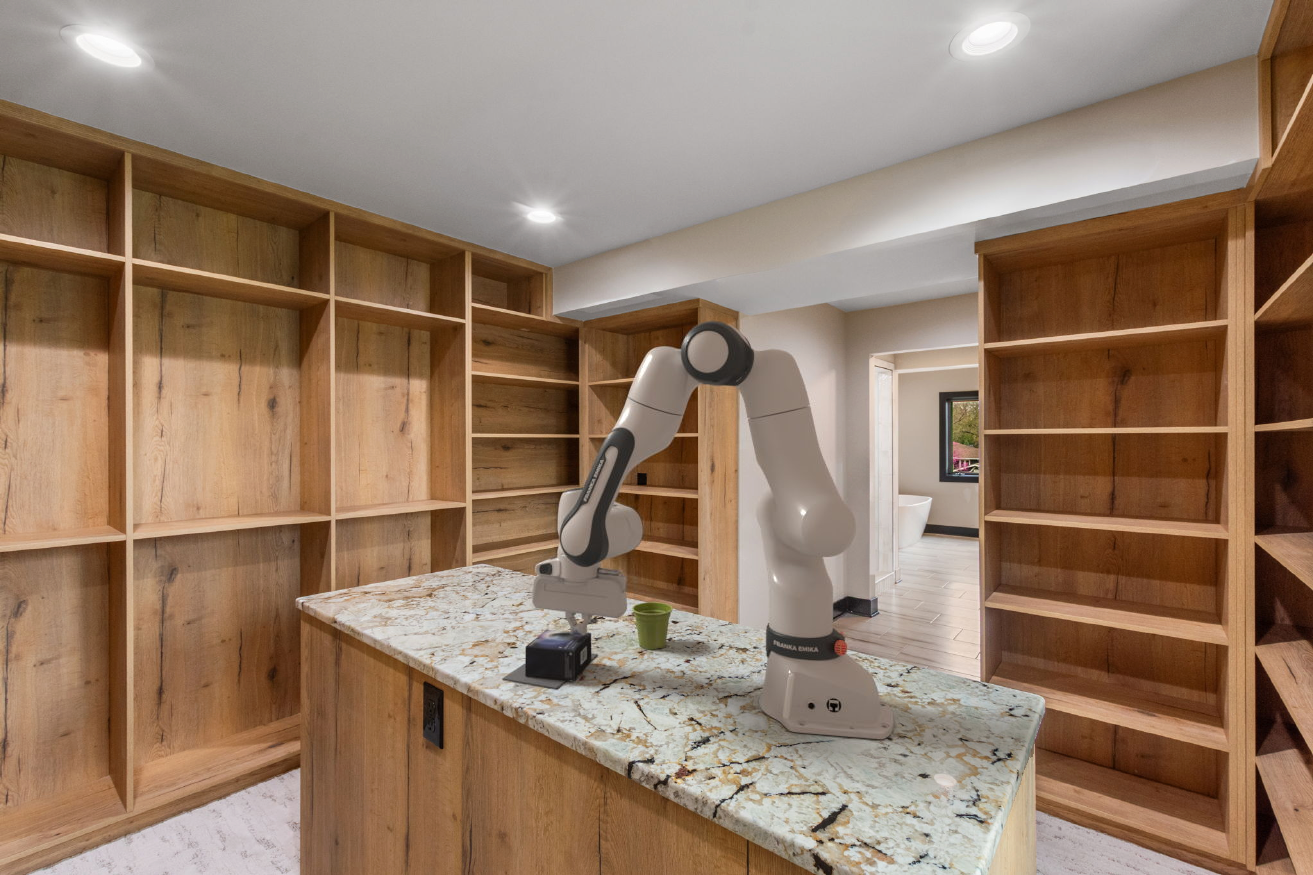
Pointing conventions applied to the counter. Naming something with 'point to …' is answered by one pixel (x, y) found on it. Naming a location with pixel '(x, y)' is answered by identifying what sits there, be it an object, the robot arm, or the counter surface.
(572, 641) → the small box
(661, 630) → the plant pot
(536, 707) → the counter surface
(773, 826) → the counter surface
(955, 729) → the counter surface
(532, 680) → the mat
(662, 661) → the counter surface
